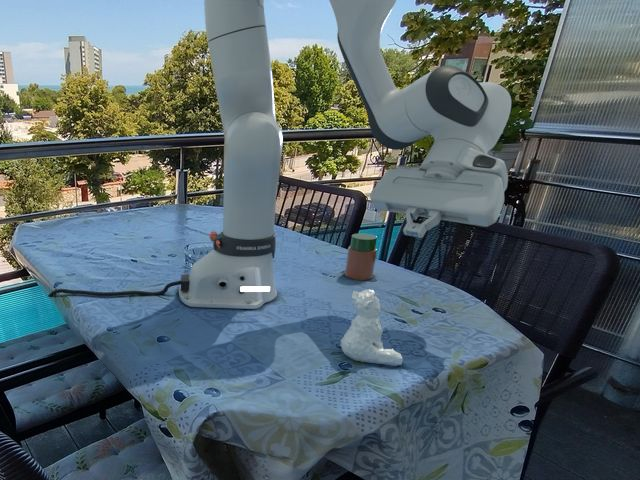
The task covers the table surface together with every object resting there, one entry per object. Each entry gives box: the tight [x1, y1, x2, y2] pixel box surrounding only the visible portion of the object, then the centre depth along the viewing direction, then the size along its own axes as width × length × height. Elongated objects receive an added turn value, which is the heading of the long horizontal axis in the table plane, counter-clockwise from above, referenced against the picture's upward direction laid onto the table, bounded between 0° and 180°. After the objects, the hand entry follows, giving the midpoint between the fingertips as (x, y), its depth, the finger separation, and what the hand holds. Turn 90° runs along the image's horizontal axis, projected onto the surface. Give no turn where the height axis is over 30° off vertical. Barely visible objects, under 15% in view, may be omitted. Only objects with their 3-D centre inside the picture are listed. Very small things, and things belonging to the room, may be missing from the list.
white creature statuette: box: [340, 288, 403, 367], centre depth 78 cm, size 10×9×12 cm
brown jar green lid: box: [344, 232, 378, 281], centre depth 113 cm, size 6×6×10 cm
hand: (412, 234), depth 79 cm, fingers closed
